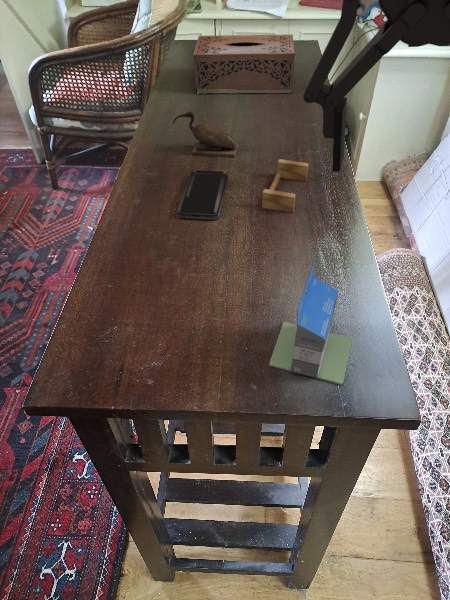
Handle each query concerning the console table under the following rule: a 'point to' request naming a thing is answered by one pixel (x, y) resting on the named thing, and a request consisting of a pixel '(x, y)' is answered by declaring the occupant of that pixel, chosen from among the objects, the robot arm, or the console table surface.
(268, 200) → the tape holder
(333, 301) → the blue grey carton
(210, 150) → the figurine
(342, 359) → the felt pad
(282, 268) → the console table surface
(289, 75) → the tissue box cover
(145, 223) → the console table surface
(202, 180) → the phone
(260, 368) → the console table surface
